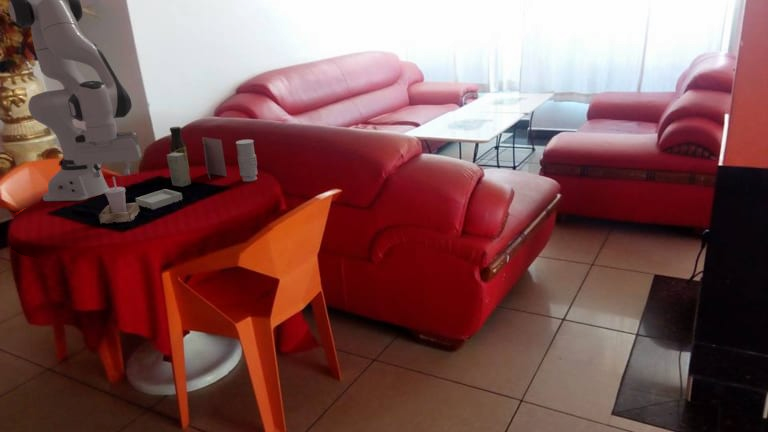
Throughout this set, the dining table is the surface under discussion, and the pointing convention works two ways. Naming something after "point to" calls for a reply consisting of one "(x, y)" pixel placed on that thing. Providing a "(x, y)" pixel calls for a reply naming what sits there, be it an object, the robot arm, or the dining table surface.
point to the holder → (119, 214)
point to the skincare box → (178, 169)
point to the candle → (247, 160)
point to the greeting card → (214, 156)
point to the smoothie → (116, 198)
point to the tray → (159, 199)
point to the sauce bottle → (177, 142)
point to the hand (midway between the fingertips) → (112, 175)
